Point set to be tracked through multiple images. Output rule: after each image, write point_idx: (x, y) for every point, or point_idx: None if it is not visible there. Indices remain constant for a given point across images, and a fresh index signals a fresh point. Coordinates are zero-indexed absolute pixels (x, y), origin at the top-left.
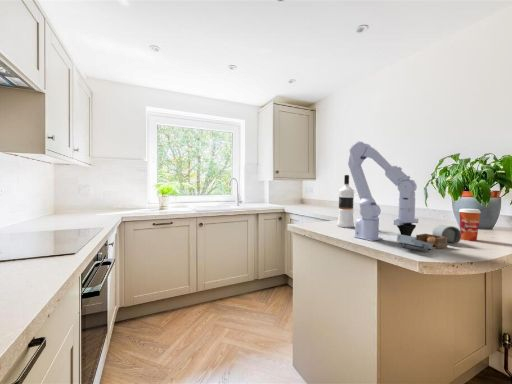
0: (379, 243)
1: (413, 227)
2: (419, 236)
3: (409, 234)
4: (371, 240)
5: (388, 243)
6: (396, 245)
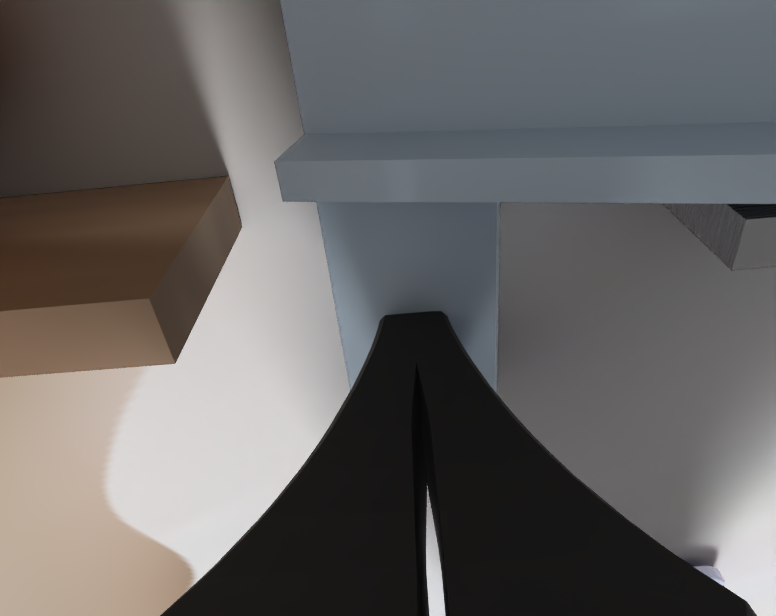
0: (763, 472)
1: (343, 614)
2: (125, 280)
3: (446, 413)
4: (718, 573)
5: (638, 435)
6: (678, 317)
